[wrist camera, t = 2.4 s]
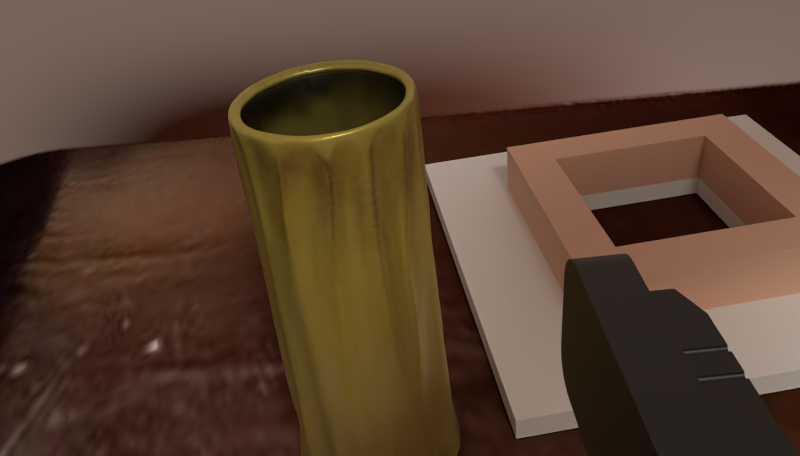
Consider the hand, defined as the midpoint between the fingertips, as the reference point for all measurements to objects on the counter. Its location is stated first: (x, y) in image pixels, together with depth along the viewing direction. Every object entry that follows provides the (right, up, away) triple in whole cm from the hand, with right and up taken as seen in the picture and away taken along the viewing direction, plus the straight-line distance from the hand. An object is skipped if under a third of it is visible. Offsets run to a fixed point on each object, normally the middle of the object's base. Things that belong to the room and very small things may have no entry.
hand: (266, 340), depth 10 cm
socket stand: (+15, +1, +26) cm, 30 cm away
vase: (+1, -7, +18) cm, 19 cm away
